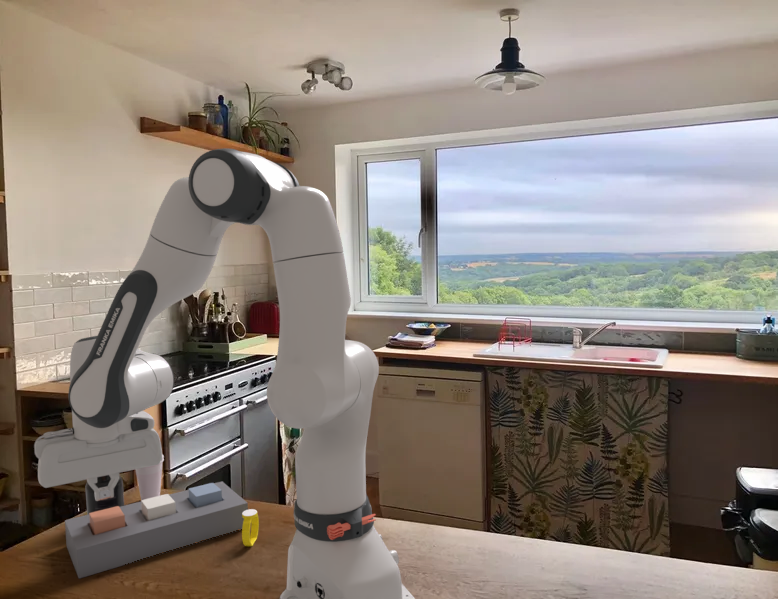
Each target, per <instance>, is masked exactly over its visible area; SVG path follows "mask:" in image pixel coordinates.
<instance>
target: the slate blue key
mask: <svg viewBox="0 0 778 599" xmlns="http://www.w3.org/2000/svg"><path fill="white" fill-rule="evenodd" d="M187 490H188V491H189V502H190V503H191V504H192V505H193V506H194V507H195V508H197V507H201V506H205V505H208V504H212V503H216V502H220V501H222V490H221V489H220V488H219V487H217V486H216V485H215V484H214V482H209V483H205V484H203V485H202V484H201V485H198V486H194V487H190V488H188V489H187Z"/></svg>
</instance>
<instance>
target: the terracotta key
mask: <svg viewBox="0 0 778 599" xmlns="http://www.w3.org/2000/svg"><path fill="white" fill-rule="evenodd" d="M89 517H90V531H91V533H92V535H96V534H100V533H103V532H107V531H111V530H115V529H118V528H122V527H125V515H124V513H123V512H122V510H121V509H120V507H119V506H116V507H112V508H108V509H104V510H100V511H96V512H92V513H89Z"/></svg>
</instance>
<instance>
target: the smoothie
mask: <svg viewBox="0 0 778 599" xmlns="http://www.w3.org/2000/svg"><path fill="white" fill-rule="evenodd" d="M164 458H165V456H164V454H163V453H162V460H161V461H160V463H159V464H158V465H154V466H149V467H144V468H139V469H134V470H135V475H136V480H137V485H138V491H139V495H140V496H139V497H140V501H141V500H144V499H148V498H153V497H157V496H161V485H162V475H163V474H162V473H163V471H162V470H163V462H164V461H165V459H164Z"/></svg>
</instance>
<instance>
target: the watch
mask: <svg viewBox="0 0 778 599" xmlns="http://www.w3.org/2000/svg"><path fill="white" fill-rule="evenodd" d="M242 517H243V518H244V521H243V527H242V530H241V539H242V545H244V546H245V547H253V546H254V544H255V542H256V540H257V539H258V536H259V529H260V528H259V527H260V526H259V525H260V522H259V521H260V520H259V515H258V511H257V510H256V509H254V508H251V509H250V508H248V510H245V511H244V512H243V513H242Z"/></svg>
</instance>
